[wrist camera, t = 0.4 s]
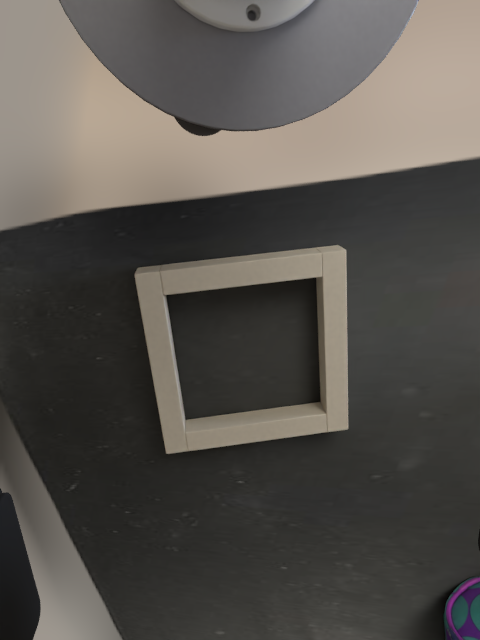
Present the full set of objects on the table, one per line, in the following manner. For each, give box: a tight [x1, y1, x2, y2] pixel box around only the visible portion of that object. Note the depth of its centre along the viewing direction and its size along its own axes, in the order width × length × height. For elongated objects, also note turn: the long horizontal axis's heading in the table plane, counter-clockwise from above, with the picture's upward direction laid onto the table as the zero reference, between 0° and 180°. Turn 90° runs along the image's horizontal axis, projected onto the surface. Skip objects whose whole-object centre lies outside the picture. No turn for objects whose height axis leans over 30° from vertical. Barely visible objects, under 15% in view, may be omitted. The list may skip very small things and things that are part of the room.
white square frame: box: [134, 245, 348, 454], centre depth 36 cm, size 15×15×2 cm
